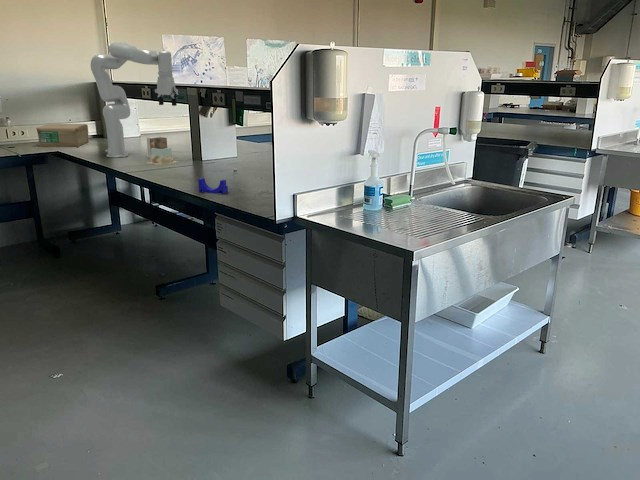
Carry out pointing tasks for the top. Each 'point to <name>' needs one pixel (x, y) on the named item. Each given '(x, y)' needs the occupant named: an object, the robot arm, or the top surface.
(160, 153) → the tower top
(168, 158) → the tower base
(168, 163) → the cork mat
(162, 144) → the walnut block
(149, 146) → the small box
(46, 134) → the paper package
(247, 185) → the top surface
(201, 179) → the blue cradle block
